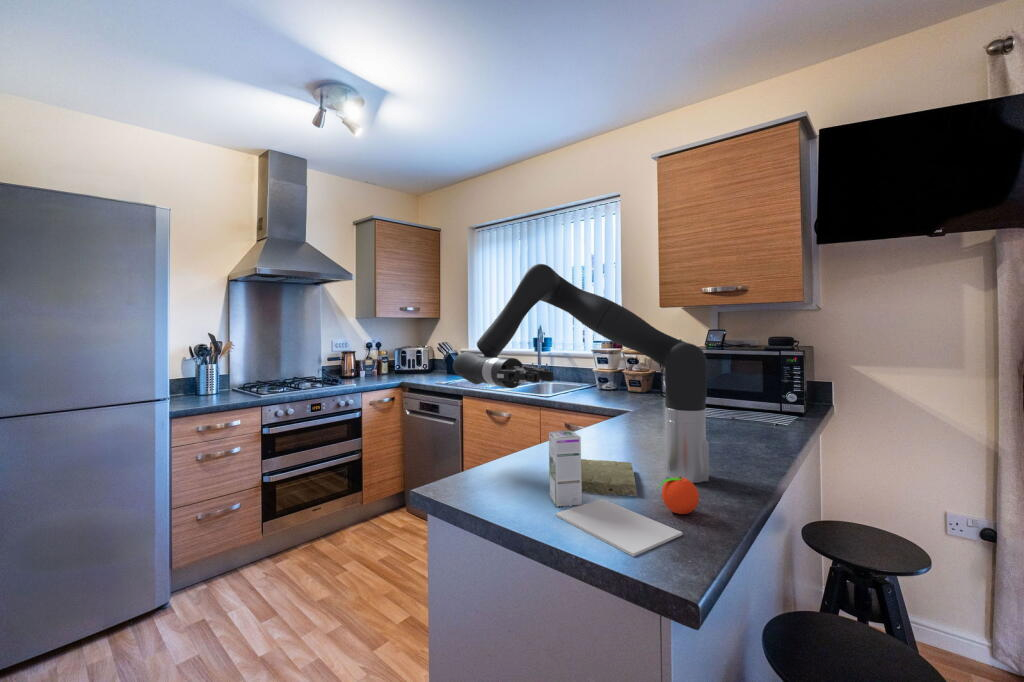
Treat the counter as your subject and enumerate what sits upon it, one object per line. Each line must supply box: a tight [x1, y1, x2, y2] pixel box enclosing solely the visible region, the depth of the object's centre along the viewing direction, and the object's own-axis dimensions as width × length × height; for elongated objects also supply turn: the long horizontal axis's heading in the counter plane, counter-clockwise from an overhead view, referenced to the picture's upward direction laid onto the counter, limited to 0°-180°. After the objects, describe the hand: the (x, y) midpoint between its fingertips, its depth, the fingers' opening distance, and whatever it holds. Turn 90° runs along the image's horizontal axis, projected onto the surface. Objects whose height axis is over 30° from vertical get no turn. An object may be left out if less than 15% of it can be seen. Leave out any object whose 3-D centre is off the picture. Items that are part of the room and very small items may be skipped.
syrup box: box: [548, 430, 583, 508], centre depth 91 cm, size 6×6×14 cm
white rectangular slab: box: [554, 498, 683, 558], centre depth 80 cm, size 19×13×1 cm
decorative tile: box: [581, 458, 638, 497], centre depth 104 cm, size 19×20×4 cm
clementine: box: [657, 477, 700, 515], centre depth 85 cm, size 8×7×7 cm
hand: (545, 377), depth 95 cm, fingers open, 3 cm apart
